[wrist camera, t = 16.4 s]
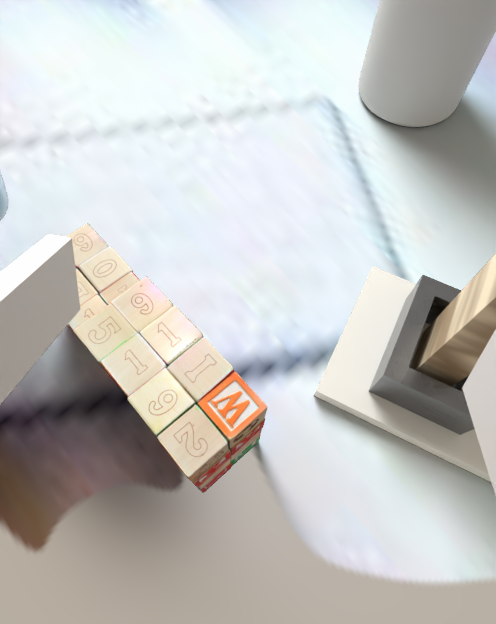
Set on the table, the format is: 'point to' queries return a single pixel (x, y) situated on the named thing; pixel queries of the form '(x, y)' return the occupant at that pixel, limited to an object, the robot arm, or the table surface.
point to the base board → (362, 368)
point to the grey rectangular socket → (410, 383)
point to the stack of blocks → (163, 364)
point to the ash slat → (460, 331)
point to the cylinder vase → (424, 57)
